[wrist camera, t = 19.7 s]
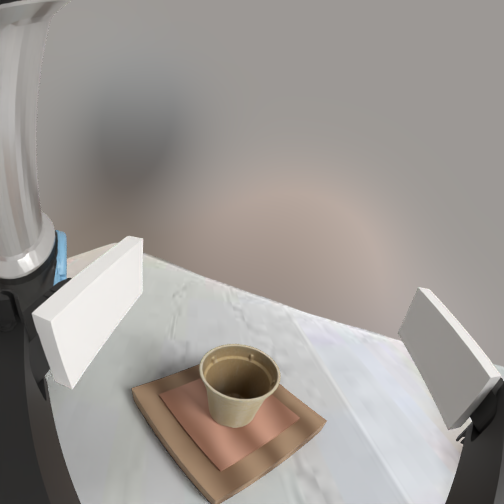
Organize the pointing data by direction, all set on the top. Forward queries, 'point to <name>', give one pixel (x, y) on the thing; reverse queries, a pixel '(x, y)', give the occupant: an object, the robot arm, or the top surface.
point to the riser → (223, 433)
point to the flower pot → (237, 382)
